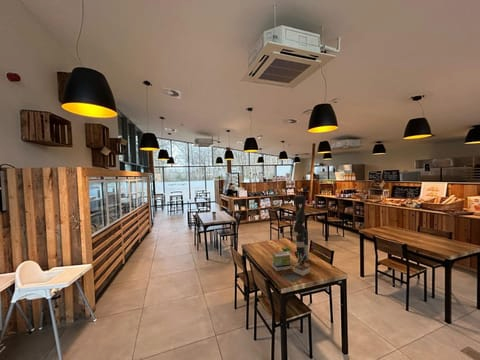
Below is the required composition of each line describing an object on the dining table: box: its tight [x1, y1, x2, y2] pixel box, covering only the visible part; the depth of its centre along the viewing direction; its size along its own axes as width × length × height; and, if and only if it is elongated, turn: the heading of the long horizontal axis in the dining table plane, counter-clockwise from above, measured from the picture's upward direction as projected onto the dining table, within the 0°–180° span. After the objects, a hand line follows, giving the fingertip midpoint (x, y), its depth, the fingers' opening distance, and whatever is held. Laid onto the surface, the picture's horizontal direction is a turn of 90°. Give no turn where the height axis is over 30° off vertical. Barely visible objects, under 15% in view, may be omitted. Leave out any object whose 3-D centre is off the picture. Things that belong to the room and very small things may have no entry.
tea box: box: [272, 251, 291, 272], centre depth 205 cm, size 15×10×15 cm
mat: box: [280, 271, 304, 284], centre depth 185 cm, size 15×15×1 cm
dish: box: [292, 266, 311, 277], centre depth 194 cm, size 11×11×5 cm
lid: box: [291, 258, 311, 269], centre depth 194 cm, size 12×12×7 cm
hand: (301, 263), depth 194 cm, fingers closed on lid, 3 cm apart
